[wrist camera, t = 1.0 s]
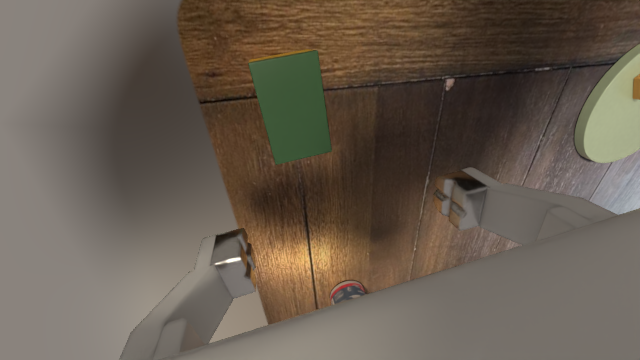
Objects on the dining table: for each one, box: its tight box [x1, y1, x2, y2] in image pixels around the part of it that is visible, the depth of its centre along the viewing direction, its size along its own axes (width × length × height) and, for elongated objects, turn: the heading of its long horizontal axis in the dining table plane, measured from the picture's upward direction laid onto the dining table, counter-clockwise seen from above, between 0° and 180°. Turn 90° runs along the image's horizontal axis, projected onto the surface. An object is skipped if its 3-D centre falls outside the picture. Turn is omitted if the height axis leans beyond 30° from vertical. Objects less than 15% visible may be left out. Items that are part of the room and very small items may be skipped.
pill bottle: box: [330, 281, 366, 305], centre depth 34 cm, size 5×5×9 cm
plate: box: [574, 44, 640, 163], centre depth 32 cm, size 16×16×1 cm
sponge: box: [248, 49, 332, 165], centre depth 21 cm, size 8×5×4 cm, turn 9°
